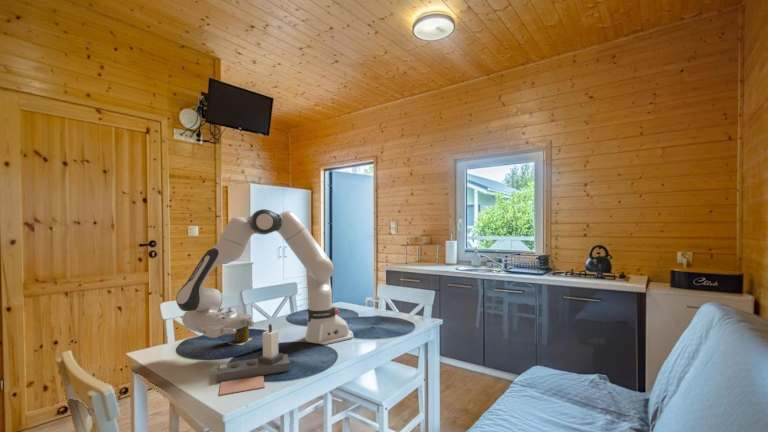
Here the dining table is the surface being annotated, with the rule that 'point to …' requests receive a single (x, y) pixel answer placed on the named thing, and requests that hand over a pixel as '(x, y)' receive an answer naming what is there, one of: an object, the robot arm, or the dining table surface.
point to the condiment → (241, 336)
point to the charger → (270, 343)
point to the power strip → (252, 367)
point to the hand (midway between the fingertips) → (244, 327)
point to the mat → (241, 385)
